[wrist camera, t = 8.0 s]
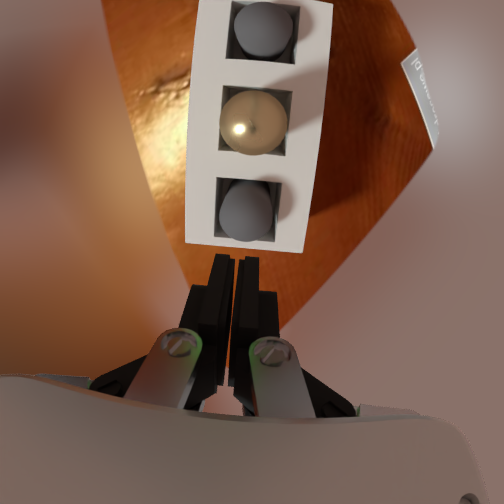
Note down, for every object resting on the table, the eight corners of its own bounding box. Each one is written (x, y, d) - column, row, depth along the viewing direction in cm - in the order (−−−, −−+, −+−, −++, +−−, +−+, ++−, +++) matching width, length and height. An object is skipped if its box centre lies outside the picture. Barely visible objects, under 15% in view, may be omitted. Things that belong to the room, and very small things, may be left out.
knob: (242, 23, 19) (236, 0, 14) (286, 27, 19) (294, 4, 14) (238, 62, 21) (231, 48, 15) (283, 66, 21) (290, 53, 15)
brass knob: (232, 93, 19) (221, 88, 14) (282, 97, 19) (290, 94, 14) (228, 141, 21) (217, 153, 16) (277, 145, 21) (283, 158, 16)
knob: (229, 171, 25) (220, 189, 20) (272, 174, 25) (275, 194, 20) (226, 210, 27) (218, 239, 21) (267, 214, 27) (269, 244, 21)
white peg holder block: (213, 15, 20) (200, -8, 14) (317, 24, 20) (333, 4, 14) (199, 215, 28) (185, 242, 23) (294, 223, 28) (302, 253, 23)
